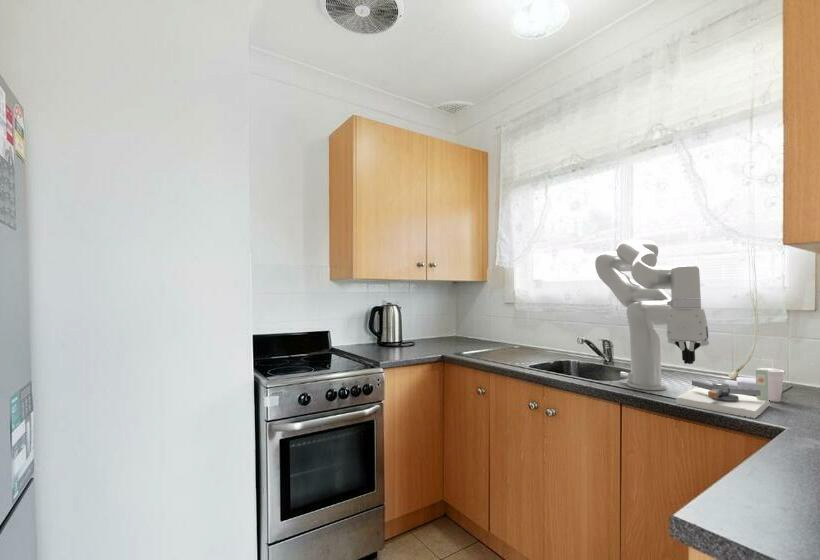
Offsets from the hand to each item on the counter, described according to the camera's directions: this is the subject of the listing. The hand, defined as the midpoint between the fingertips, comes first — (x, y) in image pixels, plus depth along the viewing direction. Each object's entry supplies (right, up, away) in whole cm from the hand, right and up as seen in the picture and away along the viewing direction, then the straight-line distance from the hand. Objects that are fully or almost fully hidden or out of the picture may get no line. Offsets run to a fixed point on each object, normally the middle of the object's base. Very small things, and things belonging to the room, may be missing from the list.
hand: (688, 363), depth 123 cm
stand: (+10, -13, -1) cm, 16 cm away
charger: (+29, -13, +14) cm, 35 cm away
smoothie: (+29, -13, +3) cm, 32 cm away
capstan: (+7, -10, -3) cm, 13 cm away
